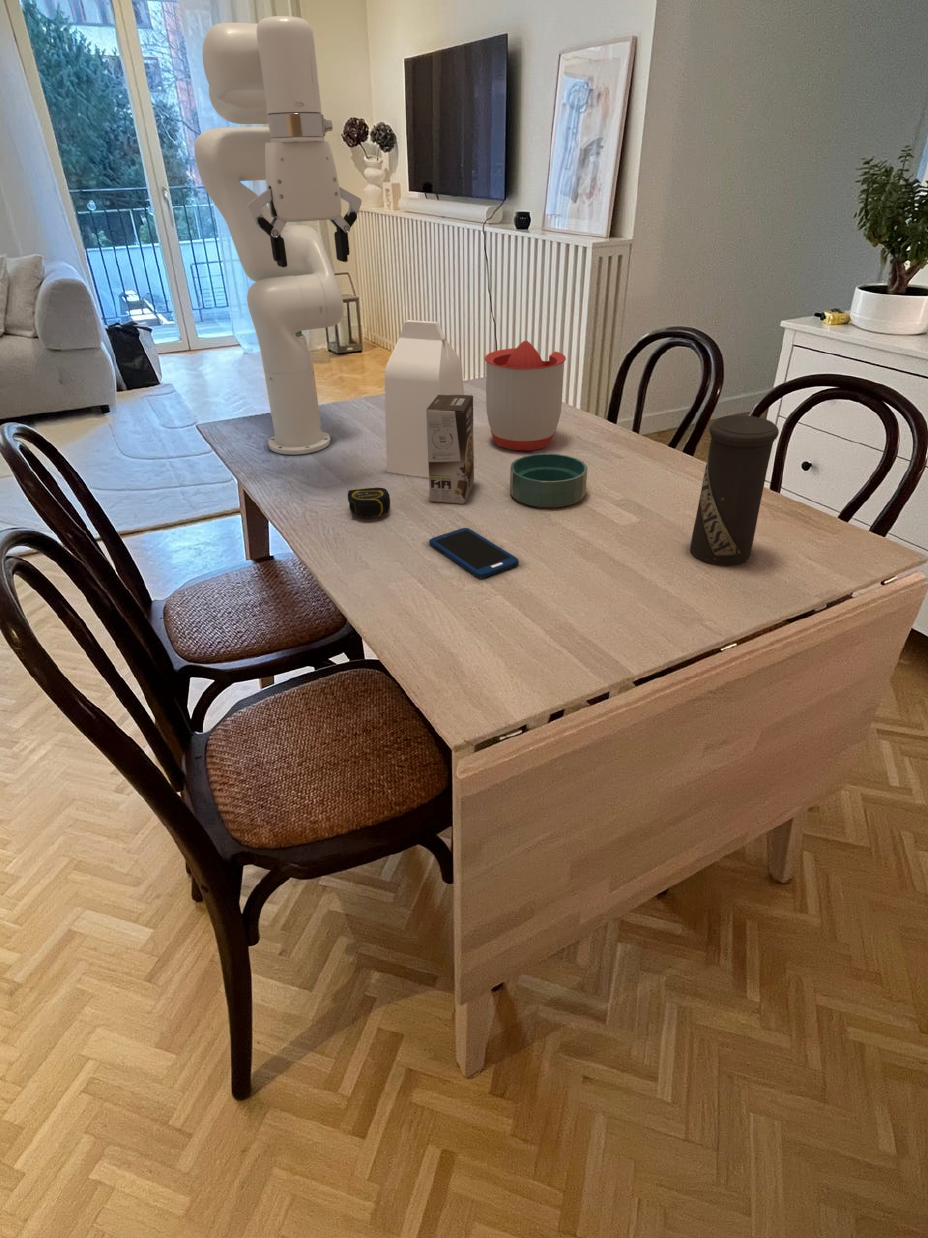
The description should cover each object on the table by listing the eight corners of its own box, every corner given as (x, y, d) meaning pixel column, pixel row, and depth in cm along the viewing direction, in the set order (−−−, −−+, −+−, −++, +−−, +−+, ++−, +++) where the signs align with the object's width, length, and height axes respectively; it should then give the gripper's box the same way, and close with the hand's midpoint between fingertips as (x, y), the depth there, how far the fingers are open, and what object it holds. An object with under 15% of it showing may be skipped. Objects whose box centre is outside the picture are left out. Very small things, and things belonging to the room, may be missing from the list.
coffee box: (465, 504, 124) (463, 410, 115) (428, 502, 125) (424, 408, 116) (475, 483, 131) (474, 394, 122) (440, 481, 132) (437, 392, 124)
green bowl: (496, 489, 129) (496, 462, 126) (557, 474, 134) (558, 448, 131) (536, 516, 120) (537, 487, 117) (600, 499, 125) (602, 472, 122)
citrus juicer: (577, 434, 152) (584, 334, 141) (539, 461, 140) (543, 353, 129) (512, 423, 159) (514, 326, 148) (470, 447, 147) (469, 344, 136)
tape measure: (388, 503, 125) (387, 483, 123) (392, 520, 119) (391, 499, 117) (348, 507, 124) (346, 486, 122) (350, 524, 118) (348, 503, 116)
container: (680, 541, 111) (701, 411, 100) (737, 538, 112) (764, 408, 101) (700, 569, 104) (725, 432, 93) (761, 565, 104) (793, 429, 93)
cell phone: (480, 579, 102) (480, 575, 102) (427, 543, 112) (426, 538, 111) (521, 564, 106) (521, 560, 105) (466, 530, 115) (466, 526, 115)
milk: (387, 471, 137) (375, 326, 123) (413, 451, 146) (404, 313, 131) (445, 480, 133) (440, 330, 119) (468, 458, 142) (466, 317, 128)
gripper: (344, 130, 109) (356, 256, 118) (229, 131, 102) (251, 265, 111) (363, 128, 103) (374, 261, 113) (242, 129, 97) (264, 271, 106)
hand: (312, 263), depth 112 cm, fingers open, 9 cm apart
